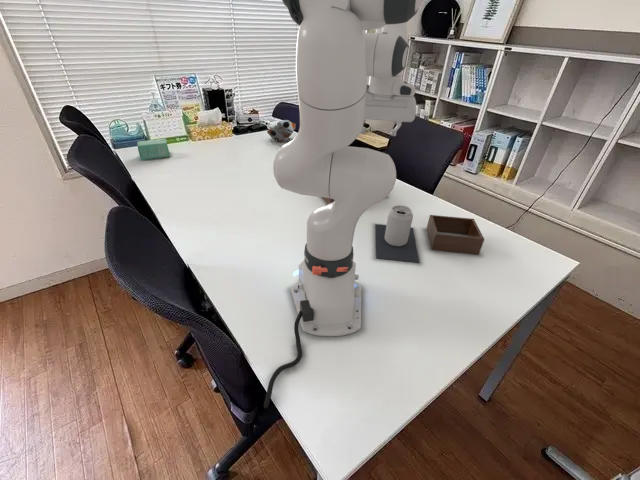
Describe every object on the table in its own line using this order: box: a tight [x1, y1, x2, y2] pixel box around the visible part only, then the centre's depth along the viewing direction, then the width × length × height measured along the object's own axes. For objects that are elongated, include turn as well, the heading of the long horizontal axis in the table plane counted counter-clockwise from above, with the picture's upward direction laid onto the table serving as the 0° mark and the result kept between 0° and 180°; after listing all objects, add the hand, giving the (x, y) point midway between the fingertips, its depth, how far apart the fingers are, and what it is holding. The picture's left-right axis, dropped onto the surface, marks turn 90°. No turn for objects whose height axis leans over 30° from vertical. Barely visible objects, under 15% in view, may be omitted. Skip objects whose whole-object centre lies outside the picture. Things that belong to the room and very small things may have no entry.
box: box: [136, 138, 171, 161], centre depth 163 cm, size 7×14×8 cm, turn 116°
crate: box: [425, 214, 485, 256], centre depth 108 cm, size 13×15×6 cm
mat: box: [374, 223, 420, 264], centre depth 108 cm, size 20×13×1 cm, turn 173°
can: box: [385, 204, 414, 246], centre depth 104 cm, size 8×8×12 cm
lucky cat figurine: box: [266, 119, 296, 143], centre depth 192 cm, size 15×12×14 cm
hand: (377, 134), depth 101 cm, fingers open, 8 cm apart
